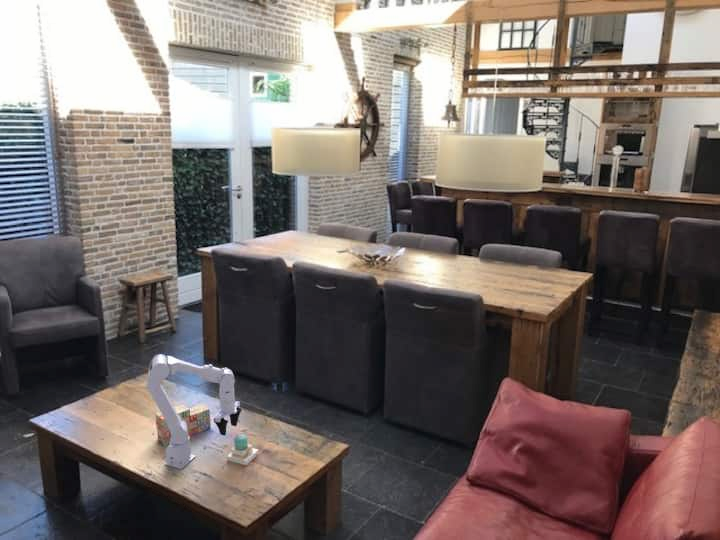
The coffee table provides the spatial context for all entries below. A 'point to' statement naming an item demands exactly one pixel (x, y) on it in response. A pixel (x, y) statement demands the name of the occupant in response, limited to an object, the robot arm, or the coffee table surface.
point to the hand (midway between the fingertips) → (228, 430)
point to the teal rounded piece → (241, 442)
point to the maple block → (242, 452)
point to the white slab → (243, 460)
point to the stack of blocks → (194, 417)
